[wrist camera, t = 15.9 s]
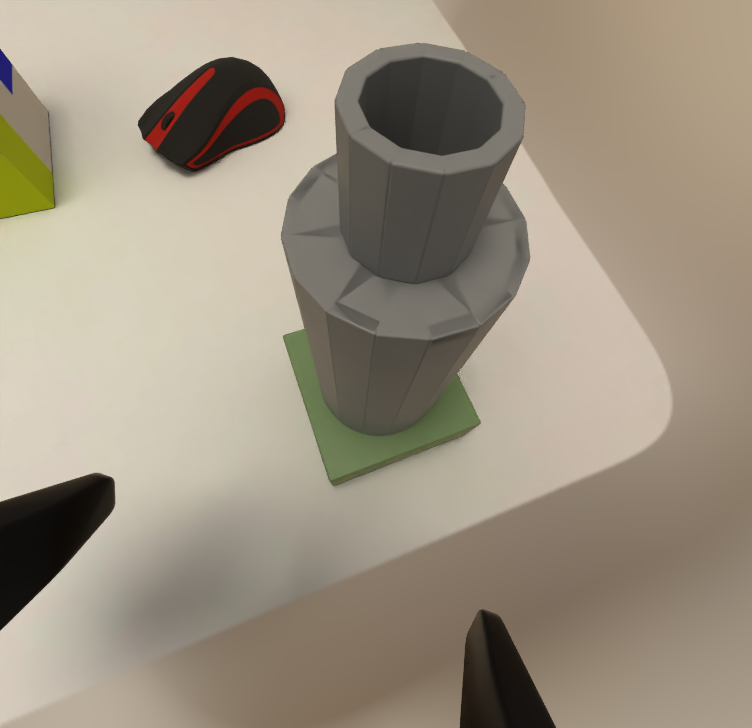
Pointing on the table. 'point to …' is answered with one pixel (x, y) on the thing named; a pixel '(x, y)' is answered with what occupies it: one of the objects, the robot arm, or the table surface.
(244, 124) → the computer mouse
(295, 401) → the table surface
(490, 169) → the flask
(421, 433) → the green block
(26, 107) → the puzzle toy
